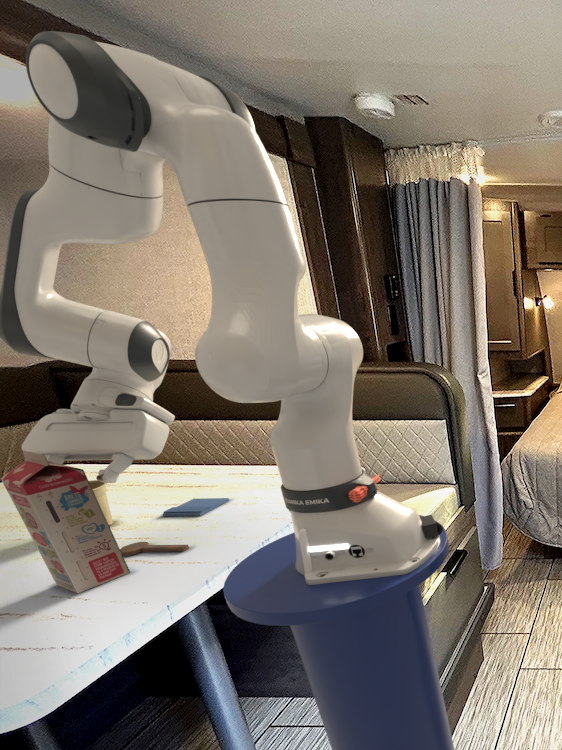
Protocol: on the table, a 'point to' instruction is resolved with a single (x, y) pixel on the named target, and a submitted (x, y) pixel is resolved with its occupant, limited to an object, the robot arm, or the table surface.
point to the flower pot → (102, 498)
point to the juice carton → (65, 523)
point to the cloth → (195, 507)
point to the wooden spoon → (150, 548)
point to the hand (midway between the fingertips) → (76, 482)
